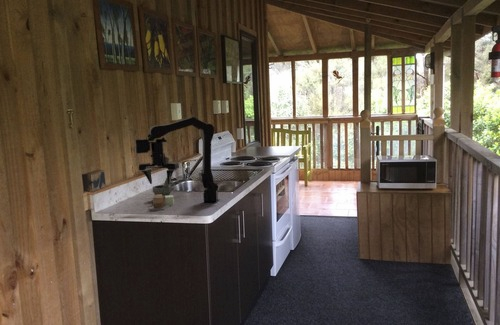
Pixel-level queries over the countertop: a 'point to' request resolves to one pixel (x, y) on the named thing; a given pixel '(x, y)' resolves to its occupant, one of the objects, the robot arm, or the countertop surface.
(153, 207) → the slate coaster
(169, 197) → the sage block
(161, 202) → the walnut block
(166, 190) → the mortar and pestle
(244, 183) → the countertop surface
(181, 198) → the countertop surface
